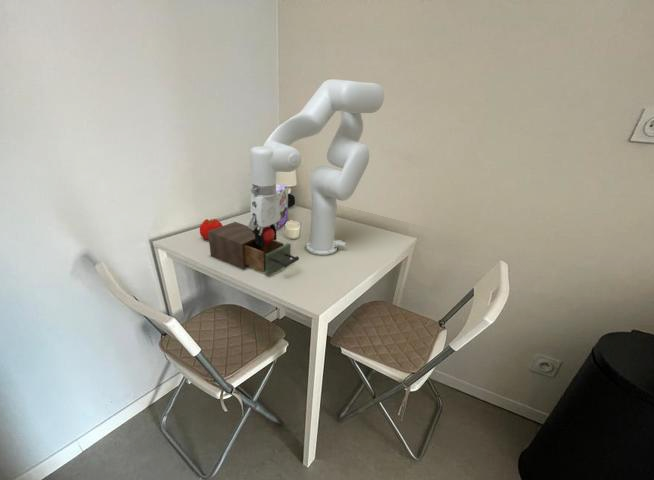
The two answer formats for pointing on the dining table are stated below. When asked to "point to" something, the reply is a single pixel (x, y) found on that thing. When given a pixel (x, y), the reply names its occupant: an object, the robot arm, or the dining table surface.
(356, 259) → the dining table surface
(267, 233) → the apple
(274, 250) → the drawer
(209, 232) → the cabinet
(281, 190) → the candy box
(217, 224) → the tomato
